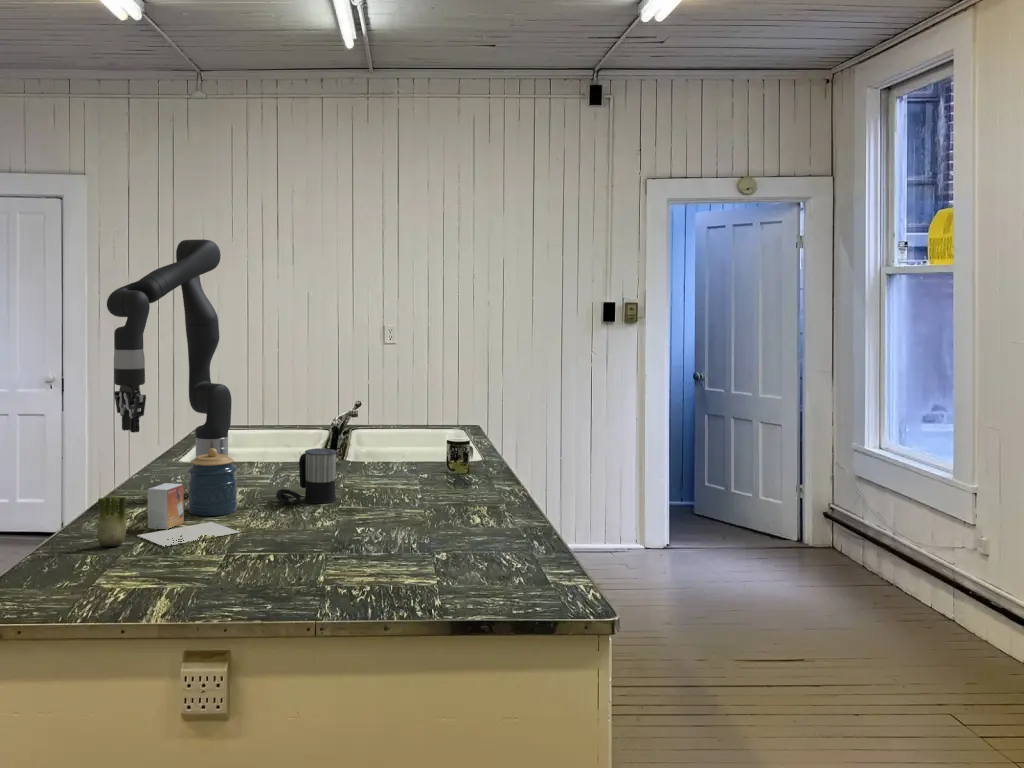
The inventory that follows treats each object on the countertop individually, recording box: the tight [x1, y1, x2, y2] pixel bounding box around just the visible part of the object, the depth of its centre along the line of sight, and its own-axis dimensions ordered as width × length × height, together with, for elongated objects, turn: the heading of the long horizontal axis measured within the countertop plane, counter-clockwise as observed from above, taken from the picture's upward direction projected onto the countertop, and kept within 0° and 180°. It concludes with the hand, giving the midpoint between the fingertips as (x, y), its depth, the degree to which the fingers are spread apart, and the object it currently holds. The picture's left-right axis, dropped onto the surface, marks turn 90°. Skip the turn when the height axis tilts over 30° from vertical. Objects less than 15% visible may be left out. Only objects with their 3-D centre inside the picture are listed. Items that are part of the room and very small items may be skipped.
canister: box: [187, 448, 238, 517], centre depth 254 cm, size 13×13×18 cm
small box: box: [147, 482, 185, 530], centre depth 237 cm, size 8×6×10 cm
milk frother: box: [275, 447, 338, 505], centre depth 269 cm, size 14×16×15 cm
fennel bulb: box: [96, 495, 127, 548], centre depth 218 cm, size 6×5×12 cm
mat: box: [136, 521, 241, 547], centre depth 230 cm, size 20×14×1 cm
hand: (130, 430), depth 244 cm, fingers open, 4 cm apart
